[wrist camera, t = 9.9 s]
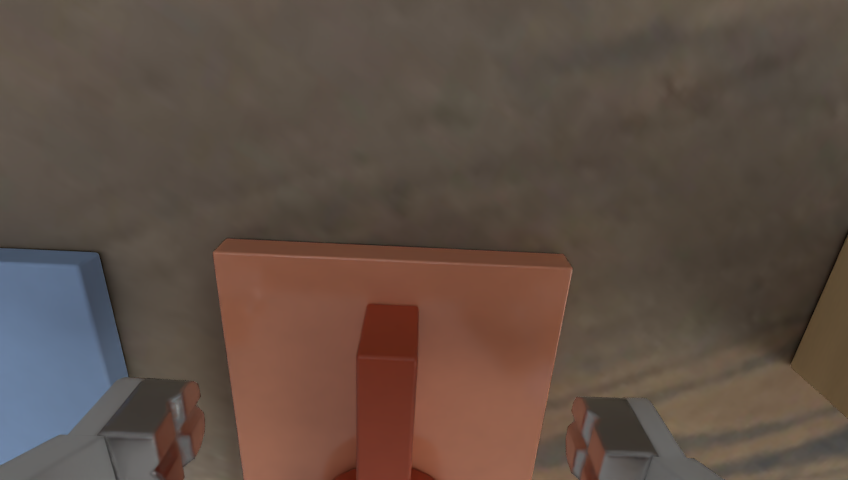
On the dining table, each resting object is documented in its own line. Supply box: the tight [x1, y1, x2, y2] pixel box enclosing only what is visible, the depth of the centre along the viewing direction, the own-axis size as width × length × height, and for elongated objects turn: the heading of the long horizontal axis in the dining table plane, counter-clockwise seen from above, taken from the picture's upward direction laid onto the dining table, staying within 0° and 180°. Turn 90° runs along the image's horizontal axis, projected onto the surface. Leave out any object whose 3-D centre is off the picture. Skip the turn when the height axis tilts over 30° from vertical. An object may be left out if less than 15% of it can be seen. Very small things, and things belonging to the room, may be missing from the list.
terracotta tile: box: [213, 239, 573, 480], centre depth 13 cm, size 8×10×1 cm
